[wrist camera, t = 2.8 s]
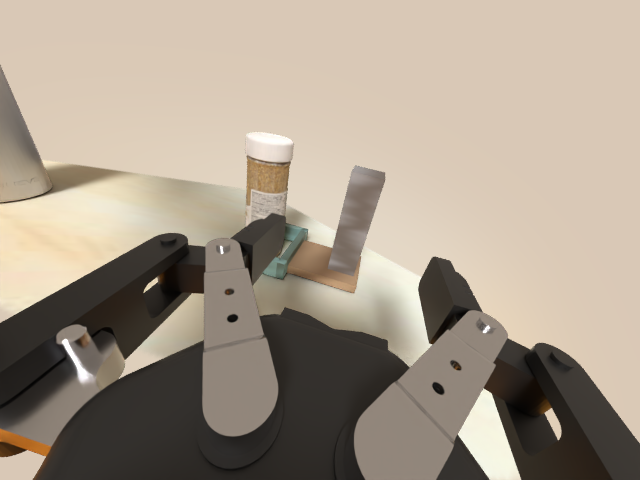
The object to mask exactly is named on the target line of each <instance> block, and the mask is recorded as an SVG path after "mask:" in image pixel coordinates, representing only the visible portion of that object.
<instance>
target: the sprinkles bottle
mask: <svg viewBox="0 0 640 480" xmlns="http://www.w3.org/2000/svg"><path fill="white" fill-rule="evenodd" d="M293 145H294V143H293V141H292V140H291V139H289V138H286V137H283V136H279V135H275V134H270V133H261V132H251V133H248V134H247V135H246V154H247V155H248V156H247V160H248V161H247V165H248V166H247V194H246V226H248V225H249V224H250V223H251V222H253V221H255V220H258V219H265V218H266V217H267V216H269V215H270V214H271V213H275V214H279V215H283V216H285V209H286V200H287V191H288V188H287V186H288V176H289V166H290V163H291V160H292V156H293ZM280 252H281V250H280ZM280 252H279V253H278V254H277V255H276V256H278V255H279V254H280Z"/></svg>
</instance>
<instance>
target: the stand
mask: <svg viewBox="0 0 640 480" xmlns="http://www.w3.org/2000/svg"><path fill="white" fill-rule="evenodd" d="M384 182H385V173H384V172H379V171H376V170H372V169H368V168H363V167H359V166H355V167H354V169H353V170H352V172H351V177H350V181H349V185H348V188H347V192H346V196H345V200H344V204H343V208H342V213H341V217H340V221H339V225H338V229H337V233H336V237H335V241H334V245H333V248H330V247H326V246H323V245H319V244H316V243H313V242H309V241H306V239H307V234H308V229H305V228H302V227H298V226H294V225H291V224H287V223H286V224H285V234H284V239H287V240H290V241H293V242H292V243H291V244H290V246H289V247H288V248H287V250H286V251H285V252H284V254H283V255H282V256H281V258H277V257H275V258H274V259H273V260H272V262H271V263H270V264H269V265H268V267H267V268H266V269H265V270H264V272H263V274H267V275H270V276H273V277H276V278H279V279H283V278H284V276H285V275H286V273H290V274H294V275H297V276H300V277H303V278H306V279H310V280H313V281H316V282H319V283H322V284H326V285H329V286H332V287H335V288H339V289H342V290H345V291H348V292H351V293H354V291H355V289H356V285H357V279H358V273H359V267H360V261H361V256H360V255H361V252H362V249H363V246H364V243H365V240H366V236H367V234H368V230H369V227H370V224H371V221H372V218H373V215H374V212H375V209H376V206H377V203H378V200H379V197H380V194H381V191H382V188H383V185H384Z"/></svg>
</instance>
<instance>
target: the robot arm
mask: <svg viewBox="0 0 640 480" xmlns="http://www.w3.org/2000/svg"><path fill="white" fill-rule="evenodd" d="M51 188H52V183H51V181H50V179H49V176H48V174H47V172H46V169H45V167H44V165H43V163H42V160H41V158H40V155H39V153H38V151H37V148H36V146H35V144H34V141H33V139H32V137H31V135H30V132H29V130H28V128H27V125H26V123H25V121H24V118H23V116H22V114H21V112H20V109H19V107H18V105H17V102H16V100H15V98H14V96H13V93H12V91H11V88H10V86H9V84H8V82H7V79H6V77H5V75H4V72H3V70H2V68H1V65H0V202H7V201H14V200H20V199H25V198H30V197H34V196H37V195H40V194H43V193H45V192H47V191H49V190H50V189H51ZM285 224H286V217H285V216H283V215H279V214H275V213H271V214H270V215H269V216H267V217H266V218H265V219H258V220H255V221H253V222H251V223H250V224H249V225H248V226H246V227H245V228H244V229H242V230H241V231H240V232H238V233H237V234H236V235H234V236H233V237H232V238H230V239H228V238H220V239H215V240H212V241H210V242H209V243H208V244H207V245H206V247H203V246H191V245H188V239H187V237H186V236H184V235H182V234H178V233H167V234H161V235H158V236H156V237H154V238H152V239H150V240H148V241H146V242H145V243H143V244H141V245H139V246H137V247H136V248H134V249H132V250H130V251H128V252H127V253H125V254H123V255H121V256H119V257H118V258H116V259H114V260H112V261H111V262H109V263H107V264H105V265H103V266H102V267H100V268H98V269H96V270H94V271H93V272H91V273H89V274H87V275H85V276H84V277H82V278H80V279H78V280H77V281H75V282H73V283H71V284H69V285H68V286H66V287H64V288H62V289H60V290H59V291H57V292H55V293H53V294H51V295H50V296H48V297H46V298H44V299H43V300H41V301H39V302H37V303H35V304H34V305H32V306H30V307H28V308H26V309H25V310H23V311H21V312H19V313H17V314H16V315H14V316H12V317H10V318H8V319H7V320H5V321H3V322H1V323H0V457H8V456H13V455H16V454H19V453H22V452H24V451H26V450H29V451H32V452H35V453H37V454H40V455H43V456H46V458H45V460H44V462H43V463H42V465H41V467H40V469H39V470H38V472H37V474H36V475H35V477H34V478H33V480H489V478H488V477H487V475H486V474H485V473H484V471H483V470H482V468H481V467H480V465H479V464H478V463H477V461H476V460H475V458H474V457H473V456H472V454H471V453H470V451H469V450H468V448H467V447H466V446H465V444H464V443H463V441H462V440H461V439H460V437H459V436H458V433H459V431H460V429H461V427H462V425H463V424H464V422H465V420H466V418H467V416H468V415H469V413H470V411H471V409H472V408H473V406H474V404H475V402H476V400H477V399H478V397H479V395H480V393H481V391H482V390H483V388H484V389H486V390H487V391H489V392H491V393H492V395H493V398H494V401H495V404H496V407H497V410H498V413H499V416H500V419H501V422H502V425H503V428H504V430H505V433H506V436H507V439H508V442H509V445H510V448H511V451H512V454H513V457H514V460H515V463H516V466H517V468H518V471H519V474H520V477H521V480H640V443H639V442H638V441H637V439H636V438H635V437H634V436H633V434H632V433H631V432H630V430H629V429H628V428H627V426H626V425H625V424H624V422H623V421H622V420H621V418H620V417H619V416H618V414H617V413H616V412H615V410H614V409H613V408H612V406H611V405H610V404H609V402H608V401H607V400H606V398H605V397H604V396H603V394H602V393H601V392H600V390H599V389H598V388H597V387H596V385H595V384H594V382H593V381H592V380H591V378H590V377H589V376H588V374H587V373H586V372H585V370H584V369H583V368H582V367H581V366H580V365H579V364H578V363H577V362H576V361H575V360H574V359H573V358H571V357H570V356H569V355H568V354H566V353H565V352H563V351H561V350H560V349H558V348H556V347H554V346H551V345H549V344H545V343H537V344H536V345H535V346H534V347H533V348H532V349H531V350H530V349H528V348H526V347H524V346H522V345H520V344H518V343H516V342H514V341H512V340H510V339H508V334H507V332H506V330H505V329H504V327H503V326H502V325H501V324H500V323H499V322H498V321H497V320H495V319H494V318H492V317H491V316H489V315H487V314H485V313H483V312H482V310H481V308H480V306H479V304H478V302H477V300H476V298H475V296H474V295H473V293H472V291H471V289H470V287H469V285H468V283H467V281H466V280H465V279H464V278H463V277H462V276H461V275H460V274H459V273H457V272H455V270H454V267H453V265H452V263H451V261H449V260H446V259H442V258H438V257H433V258H432V259H431V260H430V262H429V264H428V266H427V269H426V270H425V272H424V274H423V276H422V278H421V280H420V283H419V288H418V291H419V296H420V301H421V306H422V311H423V316H424V321H425V326H426V330H427V335H428V340H429V343H430V344H433V345H432V346H431V347H430V348H429V349H428V350H427V351H426V352H425V353H424V354H423V355H422V356H421V357H420V358H419V359H418V360H417V361H416V362H415V363H414V364H413V365H412V366H411V367H410V368H409V366H408V365H407V364H406V363H405V362H404V361H402V360H401V359H400V358H399V357H398V356H396V355H395V354H393V353H392V352H390V351H389V350H388V341H387V340H384V339H381V338H378V337H375V336H372V335H369V334H366V333H363V332H356V331H346V330H336V329H332V328H330V327H329V326H327V325H325V324H323V323H322V322H320V321H318V320H317V319H315V318H313V317H311V316H310V315H307V314H304V313H301V312H298V311H295V310H292V309H288V308H284V310H283V312H282V314H281V315H278V314H271V315H263V316H259V313H258V309H257V304H256V300H255V296H254V292H253V287H252V286H253V284H254V283H255V282H256V281H257V279H258V278H259V277H260V276H261V274H262V273H263V272H264V270H265V269H266V268H267V267H268V265H269V264H270V263H271V262H272V260H273V259H274V258H275V257H276V255H277V254H278V253H279V252H280V250H281V248H282V246H283V242H284V234H285ZM156 277H157V278H158V283H156V284H155V285H154V286H152V287H151V288H150V289H149V290H147V291H146V292H145V293H144V294H143V292H144V289H145V287H146V286H147V285H148V283H150V282H151V281H152V280H153V279H155V278H156ZM192 293H202V294H204V340H203V341H201V342H199V343H197V344H195V345H192V346H190V347H188V348H186V349H183V350H181V351H179V352H177V353H175V354H172V355H170V356H168V357H166V358H164V359H161V360H159V361H157V362H155V363H152V364H150V365H148V366H146V367H144V368H141V369H139V370H137V371H135V372H132V373H130V374H128V375H126V376H124V377H122V378H120V379H118V378H119V377H120V376H121V374H122V372H123V370H124V368H125V359H127V358H128V356H130V355H131V354H132V353H133V352H134V351H135V350H136V349H137V348H138V347H139V346H140V345H141V344H142V343H143V342H144V341H145V340H146V339H147V338H148V337H149V336H150V335H151V334H152V333H153V332H154V331H155V330H156V329H157V328H158V327H159V326H160V325H161V324H162V323H163V322H164V321H165V320H166V319H167V318H168V317H169V316H170V315H171V314H172V313H173V312H174V311H175V310H176V309H177V308H178V307H179V306H180V305H181V304H182V303H183V302H184V301H185V300H186V299H187V298H188V297H189V296H190V295H191V294H192ZM550 408H552V409H553V411H554V413H555V414H556V416H557V418H558V420H559V422H560V425H561V430H562V434H561V438H560V440H557V437H556V436H555V433H554V431H553V429H552V427H551V426H550V423H549V422H548V420H547V418H546V416H545V414H544V413H545V412H546V411H548V410H549V409H550Z"/></svg>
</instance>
